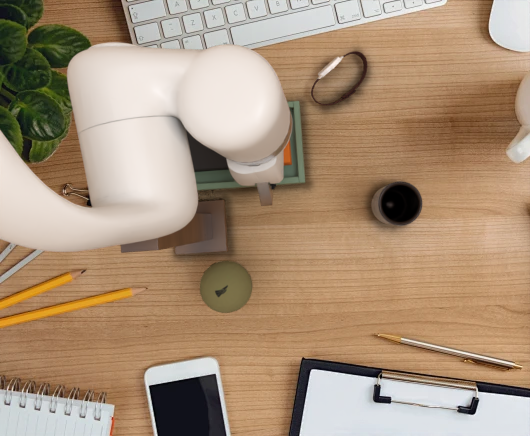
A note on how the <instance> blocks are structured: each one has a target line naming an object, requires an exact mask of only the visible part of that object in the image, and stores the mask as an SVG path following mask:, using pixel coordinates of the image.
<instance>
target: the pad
mask: <svg viewBox="0 0 530 436" xmlns="http://www.w3.org/2000/svg"><path fill="white" fill-rule="evenodd" d="M186 133H187V138H188V143H189V148H190V153H191V158H192V163H193V168H194V172H203V171H217V170H229V168H228V164H227V160H226V158H225V157H224V156H222V155H220V154H219V153H217V152H215V151H214V150H212V149H210V148H208V147H206V146H205V145H203V144H202V143H200V142H199V141H197V140H196V139H195V138H194V137H193V136H192V135H191V134H190V133H189V132H188V131H187V130H186Z"/></svg>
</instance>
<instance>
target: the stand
mask: <svg viewBox="0 0 530 436" xmlns="http://www.w3.org/2000/svg"><path fill="white" fill-rule="evenodd" d="M171 248H174V252H175V256H179V255H193V254H205V253H206V254H209V253H219V252H228V251H229V239H228V225H227V213H226V201H225V199H217V200H216V199H215V200H203V201H202V200H201V201H198V206H197V210H196V213H195V215H194V217H193V219H192V220H191V221H190V222H189V223H188V224H187V225H186V226H185V227H183V228H182V229H180V230H178V231H176V232H174V233H172V234H169V235H166V236H163V237H159V238H155V239H150V240H145V241H140V242H134V243H128V244H122V245H120V253H121V254H125V253H126V254H128V253H140V252H153V251H154V252H155V251H161V250H165V249H171Z"/></svg>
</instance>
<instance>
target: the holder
mask: <svg viewBox="0 0 530 436" xmlns="http://www.w3.org/2000/svg"><path fill="white" fill-rule="evenodd" d="M287 103H288V106H289V108H290V112H291V115H292V133H291V137H290V146H291V158H292V165H285V166H284V177H283V180H282V181H281V182H280V183H276V186H283V185H284V186H286V185H300V184H306V183H307V182H306V169H305V167H306V166H305V156H304V142H303V141H304V140H303V139H304V138H303V128H302V114H301V113H302V112H301V103H300V100H292V101H291V100H290V101H287ZM194 173H195V179H196V185H197V192H202V191H203V192H205V191H217V190H218V191H219V190H231V189H245V188H257V184H256V183H255V184H256V185H254V186H242V185H240V184H238V183H237V182H236V181H235V180H234V178H233V177H232V175H231V173H230V171H229V170H217V171H203V172H194Z"/></svg>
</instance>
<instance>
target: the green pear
mask: <svg viewBox="0 0 530 436" xmlns="http://www.w3.org/2000/svg"><path fill="white" fill-rule="evenodd" d="M253 288H254V287H253V279H252V277H251V274H250V273H249V271H248V269H247V268H246V267H244V265H242V264H240V263H239V262H236V261H233V260H220V261H217V262H215V263H213V264H211V265H210V266H208V267H207V269H205V270H204V272H203V274H202V275H201V278H200V281H199V294H200V297H201V299H202V301H203V303H204V304H205V306H207V307H208V308H209V309H210V310H212V311H214V312H216V313H221V314H230V313H235V312H237V311H239V310H241V309H242V308H244V307H245V306H246V305H247V304H248V302H249V300H250V298H251V296H252V293H253Z"/></svg>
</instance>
